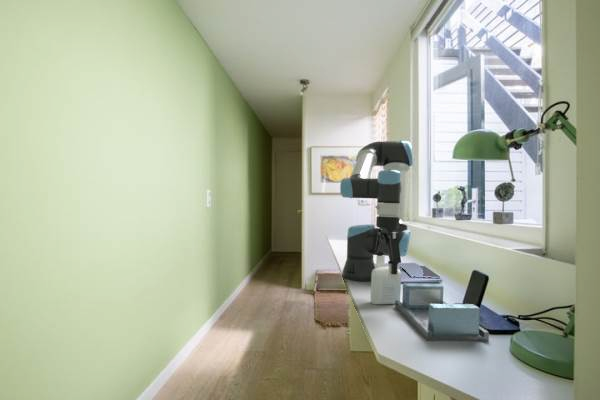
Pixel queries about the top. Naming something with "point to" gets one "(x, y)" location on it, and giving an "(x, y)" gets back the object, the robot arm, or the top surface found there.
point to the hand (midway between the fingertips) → (385, 278)
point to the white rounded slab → (384, 287)
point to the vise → (446, 321)
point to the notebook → (428, 272)
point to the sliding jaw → (422, 295)
